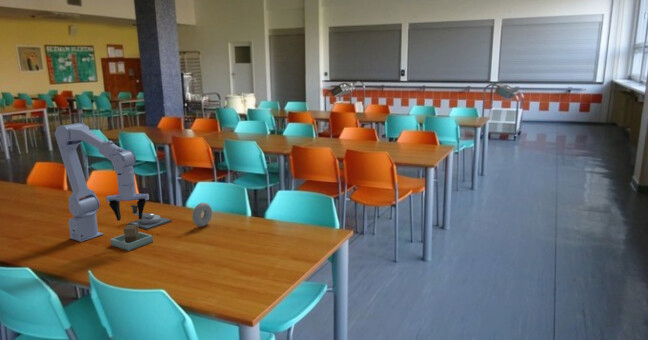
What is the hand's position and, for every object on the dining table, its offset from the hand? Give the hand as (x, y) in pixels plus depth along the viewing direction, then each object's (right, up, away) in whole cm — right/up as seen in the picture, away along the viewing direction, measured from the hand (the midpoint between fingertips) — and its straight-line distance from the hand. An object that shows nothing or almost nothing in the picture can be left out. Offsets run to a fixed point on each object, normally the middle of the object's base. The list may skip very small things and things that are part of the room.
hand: (129, 219), depth 179 cm
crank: (-5, -1, +25) cm, 26 cm away
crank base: (-1, -4, +24) cm, 25 cm away
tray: (0, -9, +1) cm, 9 cm away
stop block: (0, -9, +2) cm, 9 cm away
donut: (+22, -5, +20) cm, 30 cm away
